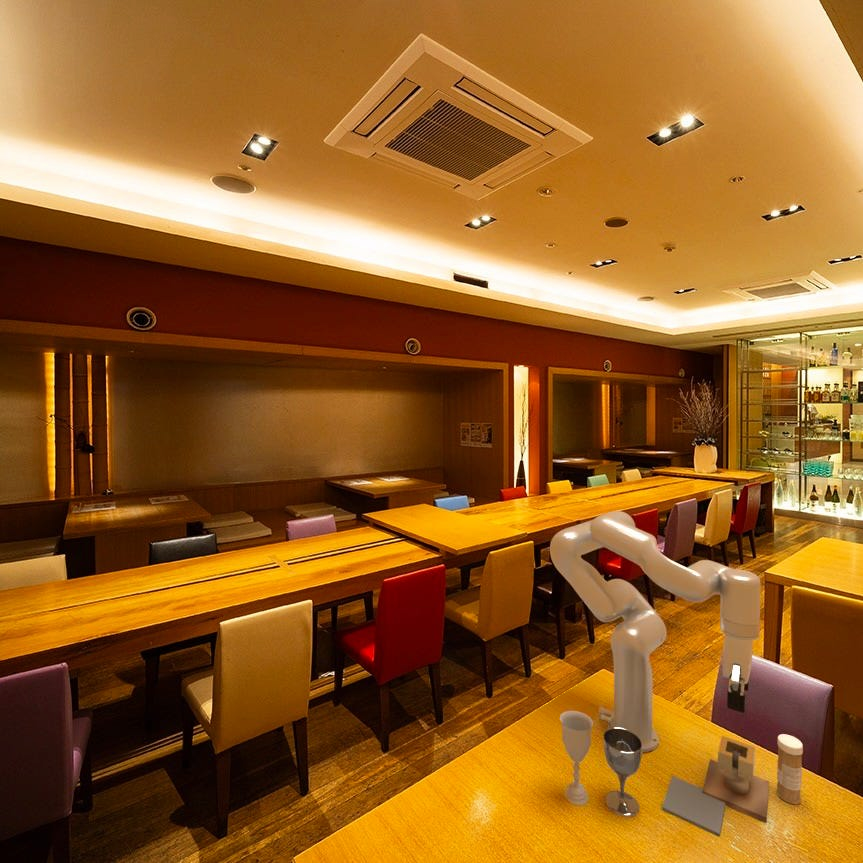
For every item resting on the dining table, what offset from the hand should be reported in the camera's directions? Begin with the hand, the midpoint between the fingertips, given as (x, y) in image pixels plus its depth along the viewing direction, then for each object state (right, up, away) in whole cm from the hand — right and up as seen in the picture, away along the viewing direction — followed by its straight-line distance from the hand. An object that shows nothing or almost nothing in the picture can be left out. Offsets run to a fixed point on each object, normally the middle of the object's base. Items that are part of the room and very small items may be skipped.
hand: (738, 698), depth 108 cm
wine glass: (-27, -23, -1) cm, 35 cm away
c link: (0, -16, +1) cm, 16 cm away
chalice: (-37, -23, +1) cm, 43 cm away
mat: (-11, -23, -2) cm, 25 cm away
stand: (0, -22, +1) cm, 22 cm away
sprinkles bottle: (+11, -22, -1) cm, 25 cm away
